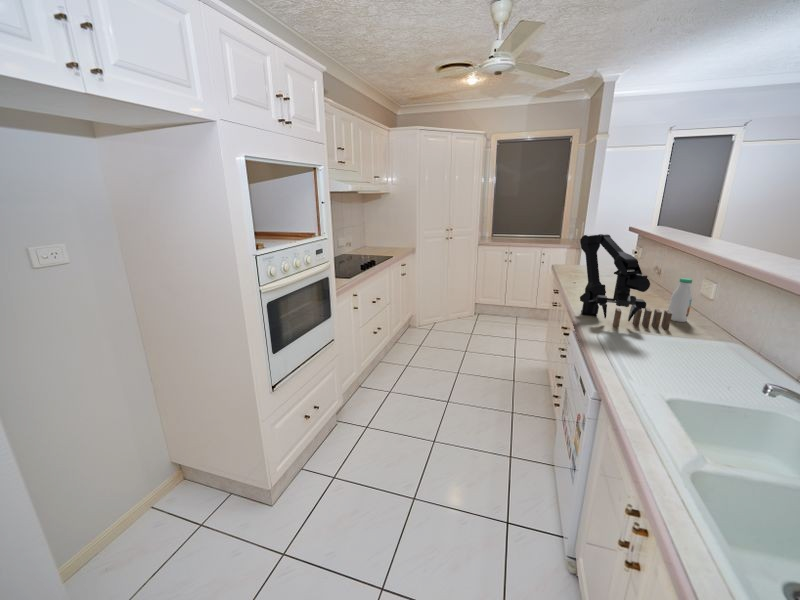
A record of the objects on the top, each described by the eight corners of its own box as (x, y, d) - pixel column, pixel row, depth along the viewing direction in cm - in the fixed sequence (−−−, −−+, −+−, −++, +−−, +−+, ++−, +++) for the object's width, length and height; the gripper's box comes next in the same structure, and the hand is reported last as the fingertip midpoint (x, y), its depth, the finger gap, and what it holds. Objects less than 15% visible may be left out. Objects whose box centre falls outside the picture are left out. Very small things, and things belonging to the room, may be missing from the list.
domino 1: (614, 327, 158) (617, 311, 156) (612, 323, 162) (615, 308, 160) (618, 327, 157) (621, 311, 155) (616, 324, 162) (619, 308, 159)
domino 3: (644, 326, 158) (647, 311, 156) (641, 323, 163) (645, 307, 161) (648, 327, 158) (651, 311, 156) (646, 323, 162) (649, 308, 160)
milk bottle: (681, 323, 163) (691, 281, 158) (663, 318, 170) (672, 277, 164) (690, 320, 167) (700, 279, 161) (671, 316, 173) (681, 276, 168)
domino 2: (634, 325, 160) (637, 309, 158) (632, 322, 164) (635, 306, 162) (638, 326, 159) (642, 310, 157) (636, 322, 164) (639, 307, 161)
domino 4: (654, 328, 157) (657, 312, 155) (651, 324, 161) (654, 309, 159) (658, 328, 156) (662, 312, 154) (655, 325, 161) (659, 309, 159)
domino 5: (664, 329, 156) (667, 313, 153) (661, 325, 160) (664, 310, 158) (668, 329, 155) (672, 313, 153) (665, 326, 159) (669, 310, 157)
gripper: (600, 288, 151) (595, 322, 155) (652, 292, 144) (644, 328, 148) (598, 282, 161) (592, 315, 165) (646, 286, 154) (639, 320, 158)
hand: (616, 319), depth 159 cm, fingers open, 9 cm apart
